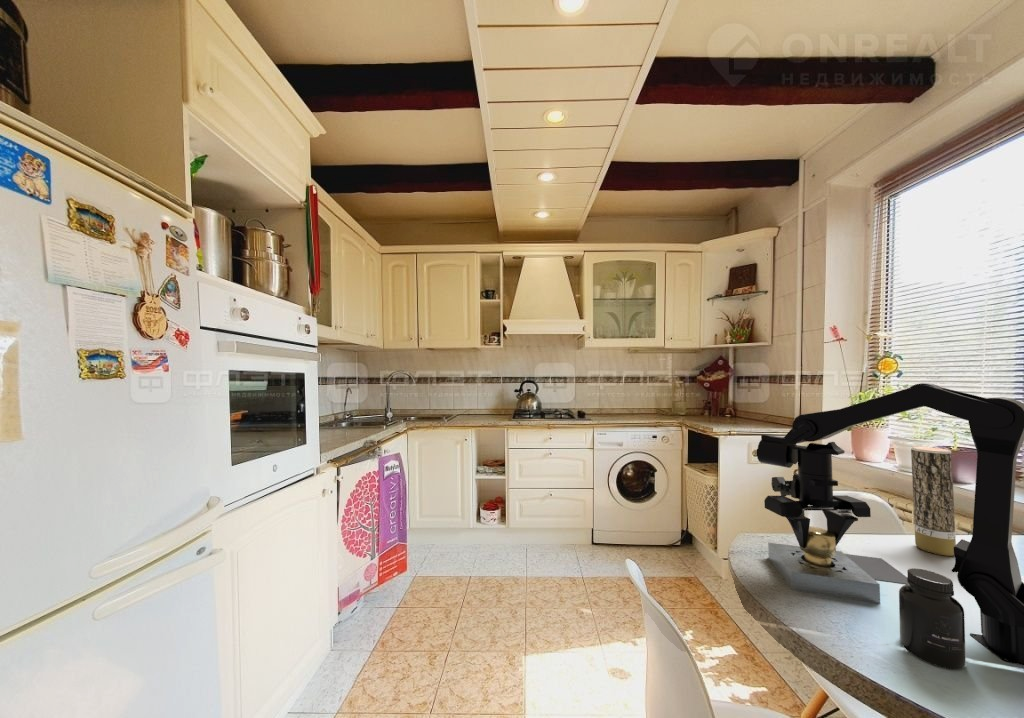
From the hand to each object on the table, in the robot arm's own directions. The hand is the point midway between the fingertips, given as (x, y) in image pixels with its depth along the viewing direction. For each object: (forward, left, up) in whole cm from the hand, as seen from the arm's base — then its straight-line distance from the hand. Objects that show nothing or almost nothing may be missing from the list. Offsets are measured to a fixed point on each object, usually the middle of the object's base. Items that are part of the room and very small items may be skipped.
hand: (817, 547), depth 80 cm
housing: (0, 0, -7) cm, 7 cm away
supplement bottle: (-20, -7, -7) cm, 22 cm away
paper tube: (+26, -34, -7) cm, 43 cm away
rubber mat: (+9, -13, -7) cm, 17 cm away
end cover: (0, 0, -4) cm, 4 cm away
